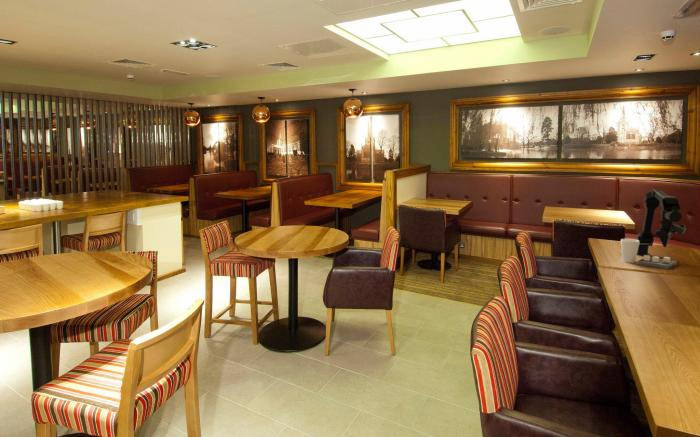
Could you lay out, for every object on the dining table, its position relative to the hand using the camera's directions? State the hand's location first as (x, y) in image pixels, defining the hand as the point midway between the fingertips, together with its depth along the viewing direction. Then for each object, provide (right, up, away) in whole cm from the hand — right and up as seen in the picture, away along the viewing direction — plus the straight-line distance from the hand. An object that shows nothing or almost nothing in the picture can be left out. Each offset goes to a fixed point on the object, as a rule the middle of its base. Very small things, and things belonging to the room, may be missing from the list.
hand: (664, 246), depth 242 cm
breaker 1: (-3, -8, +11) cm, 14 cm away
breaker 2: (+5, -9, +6) cm, 12 cm away
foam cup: (-9, -10, +17) cm, 22 cm away
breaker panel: (+2, -11, +9) cm, 14 cm away
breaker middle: (0, -9, +7) cm, 11 cm away
